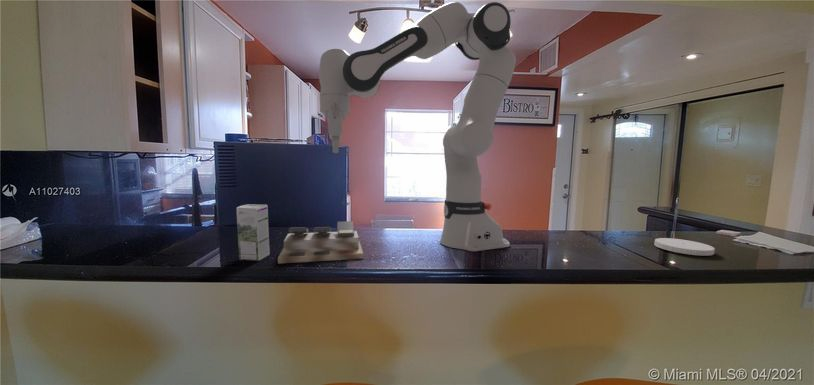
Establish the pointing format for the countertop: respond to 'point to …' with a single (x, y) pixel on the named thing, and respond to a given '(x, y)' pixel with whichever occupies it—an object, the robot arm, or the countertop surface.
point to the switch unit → (320, 247)
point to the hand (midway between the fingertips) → (335, 153)
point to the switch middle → (321, 229)
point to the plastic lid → (684, 246)
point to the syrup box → (253, 232)
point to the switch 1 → (298, 230)
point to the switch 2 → (345, 229)
